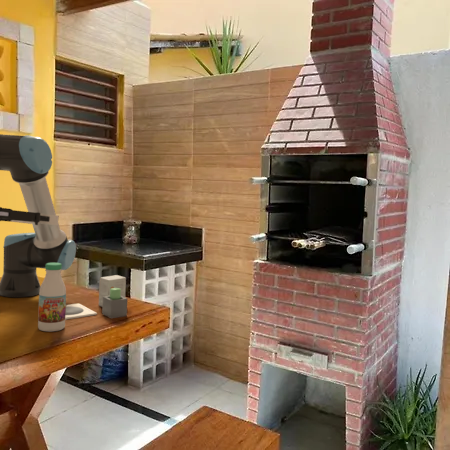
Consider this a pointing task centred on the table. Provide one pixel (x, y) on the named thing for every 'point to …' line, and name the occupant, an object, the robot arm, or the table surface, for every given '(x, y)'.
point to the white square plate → (77, 311)
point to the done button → (115, 293)
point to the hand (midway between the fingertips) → (44, 219)
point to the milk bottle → (52, 300)
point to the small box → (111, 286)
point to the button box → (114, 307)
